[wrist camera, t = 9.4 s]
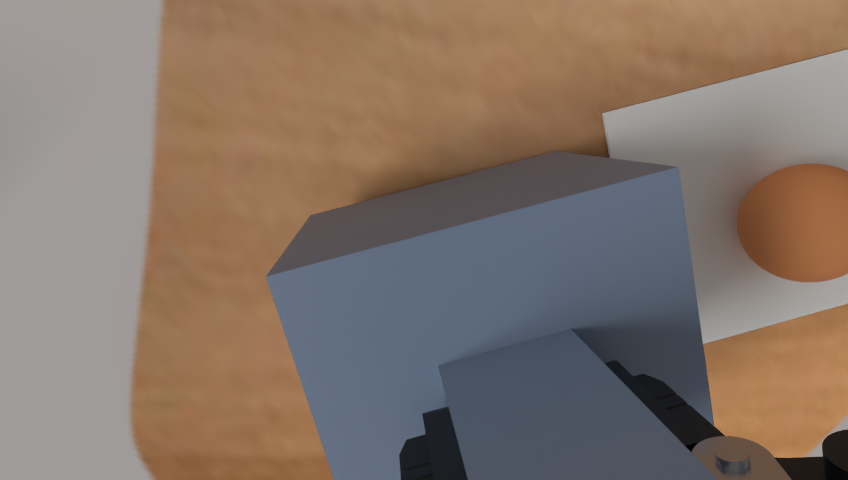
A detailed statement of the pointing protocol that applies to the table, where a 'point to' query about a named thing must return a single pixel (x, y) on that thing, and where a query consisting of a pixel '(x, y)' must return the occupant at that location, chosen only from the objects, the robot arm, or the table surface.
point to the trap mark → (741, 177)
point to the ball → (798, 223)
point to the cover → (501, 321)
